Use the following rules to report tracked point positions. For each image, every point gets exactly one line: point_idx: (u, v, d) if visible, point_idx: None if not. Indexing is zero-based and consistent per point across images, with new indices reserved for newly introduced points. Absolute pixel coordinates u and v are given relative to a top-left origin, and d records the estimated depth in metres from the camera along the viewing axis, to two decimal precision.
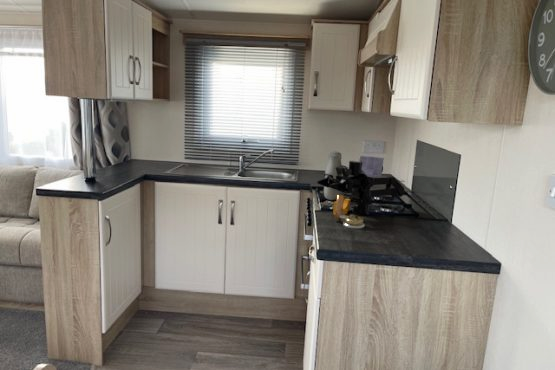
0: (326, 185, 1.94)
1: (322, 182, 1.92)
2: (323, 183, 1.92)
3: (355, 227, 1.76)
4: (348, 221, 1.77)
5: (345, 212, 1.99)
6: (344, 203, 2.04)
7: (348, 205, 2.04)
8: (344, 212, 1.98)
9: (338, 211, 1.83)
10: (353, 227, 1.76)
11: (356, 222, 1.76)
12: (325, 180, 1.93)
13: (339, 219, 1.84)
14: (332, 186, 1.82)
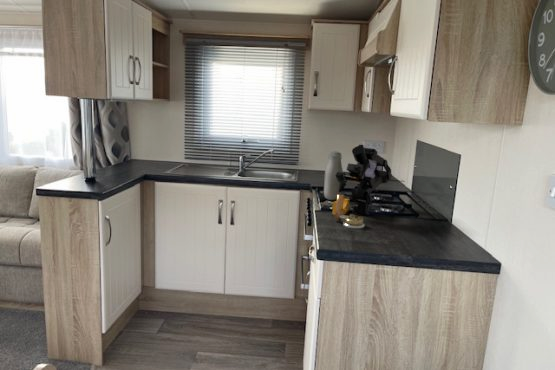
0: (345, 184, 1.94)
1: (342, 187, 1.92)
2: (343, 186, 1.92)
3: (355, 227, 1.76)
4: (348, 221, 1.77)
5: (344, 212, 2.00)
6: (343, 203, 2.05)
7: (347, 205, 2.05)
8: (343, 212, 1.99)
9: (338, 211, 1.83)
10: (353, 227, 1.76)
11: (356, 222, 1.76)
12: (342, 182, 1.92)
13: (339, 219, 1.84)
14: (357, 193, 1.85)
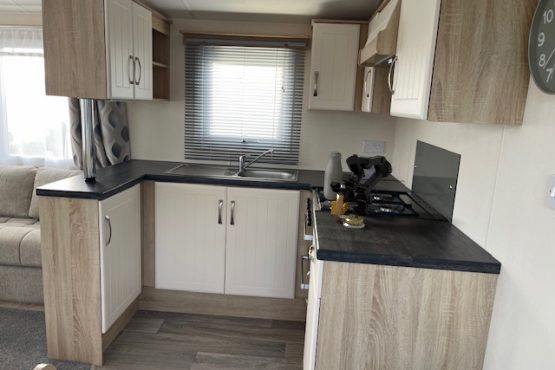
0: None
1: (344, 199, 1.87)
2: None
3: (355, 227, 1.76)
4: (348, 221, 1.77)
5: (343, 211, 2.00)
6: None
7: (346, 204, 2.05)
8: None
9: (338, 211, 1.83)
10: (353, 227, 1.76)
11: (356, 222, 1.76)
12: (344, 194, 1.87)
13: (339, 219, 1.84)
14: (344, 202, 1.85)
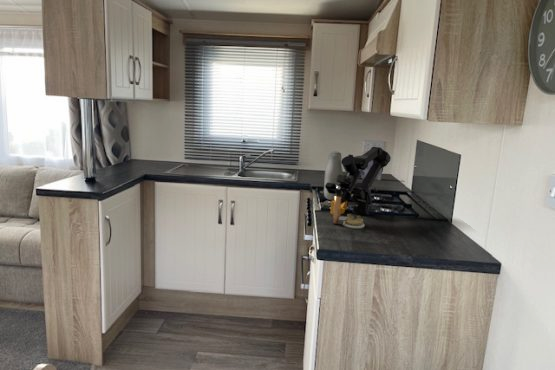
0: None
1: None
2: None
3: (355, 227, 1.76)
4: (353, 222, 1.76)
5: (342, 211, 2.01)
6: None
7: (345, 204, 2.06)
8: (341, 211, 2.00)
9: (338, 213, 1.79)
10: (353, 227, 1.76)
11: (360, 222, 1.77)
12: (340, 195, 1.84)
13: (338, 221, 1.80)
14: None
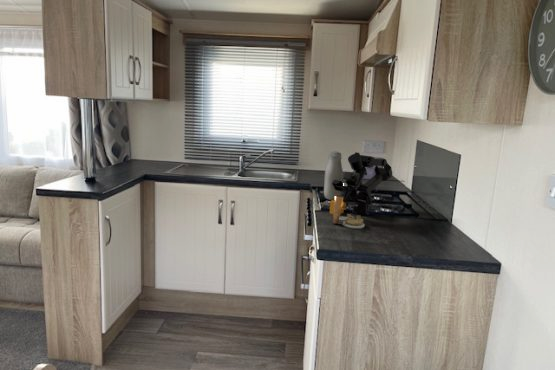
0: None
1: None
2: None
3: (355, 227, 1.76)
4: (353, 222, 1.76)
5: (341, 211, 2.01)
6: None
7: (344, 204, 2.06)
8: (340, 211, 2.00)
9: (338, 213, 1.79)
10: (353, 227, 1.76)
11: (360, 222, 1.77)
12: (346, 192, 1.88)
13: (338, 221, 1.80)
14: (346, 200, 1.87)
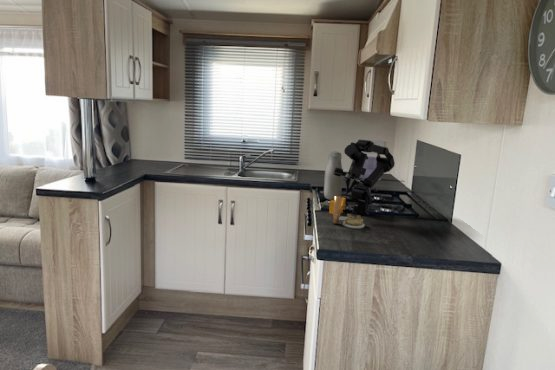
0: None
1: None
2: None
3: (355, 227, 1.76)
4: (353, 222, 1.76)
5: (341, 211, 2.01)
6: None
7: (343, 204, 2.06)
8: (340, 211, 2.00)
9: (338, 213, 1.79)
10: (353, 227, 1.76)
11: (360, 222, 1.77)
12: (349, 183, 1.90)
13: (338, 221, 1.80)
14: None
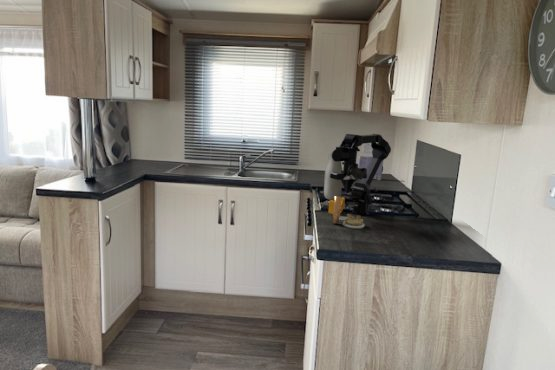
0: None
1: None
2: None
3: (355, 227, 1.76)
4: (353, 222, 1.76)
5: (340, 211, 2.02)
6: None
7: (343, 204, 2.07)
8: None
9: (338, 213, 1.79)
10: (353, 227, 1.76)
11: (360, 222, 1.77)
12: None
13: (338, 221, 1.80)
14: None
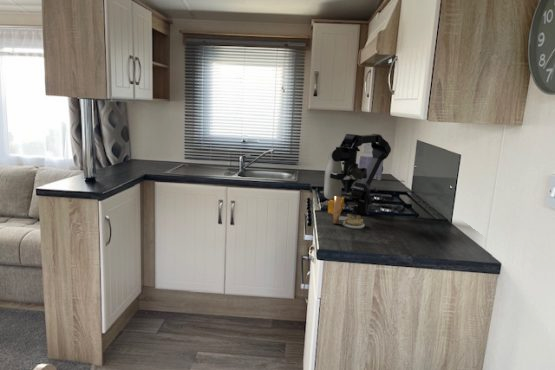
0: None
1: None
2: None
3: (355, 227, 1.76)
4: (353, 222, 1.76)
5: None
6: None
7: (342, 203, 2.07)
8: None
9: (338, 213, 1.79)
10: (353, 227, 1.76)
11: (360, 222, 1.77)
12: None
13: (338, 221, 1.80)
14: None
